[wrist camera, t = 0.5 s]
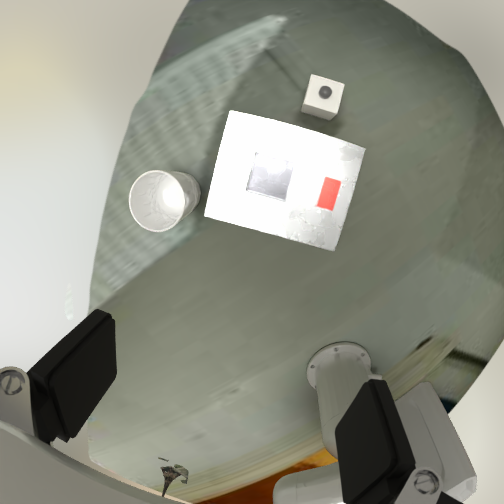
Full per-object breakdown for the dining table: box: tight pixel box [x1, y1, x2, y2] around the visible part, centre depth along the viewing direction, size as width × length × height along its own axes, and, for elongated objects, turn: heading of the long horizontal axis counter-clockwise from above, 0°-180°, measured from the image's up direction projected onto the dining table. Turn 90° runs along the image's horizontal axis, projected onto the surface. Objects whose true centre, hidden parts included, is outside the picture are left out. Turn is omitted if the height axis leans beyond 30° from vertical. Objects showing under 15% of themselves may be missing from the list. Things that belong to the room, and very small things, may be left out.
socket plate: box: [204, 110, 365, 251], centre depth 41 cm, size 20×16×3 cm
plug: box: [301, 74, 344, 121], centre depth 35 cm, size 4×4×7 cm
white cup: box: [129, 170, 201, 232], centre depth 40 cm, size 8×8×10 cm
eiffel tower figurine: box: [158, 457, 189, 497], centre depth 63 cm, size 15×10×13 cm
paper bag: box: [394, 382, 477, 502], centre depth 40 cm, size 19×15×28 cm
